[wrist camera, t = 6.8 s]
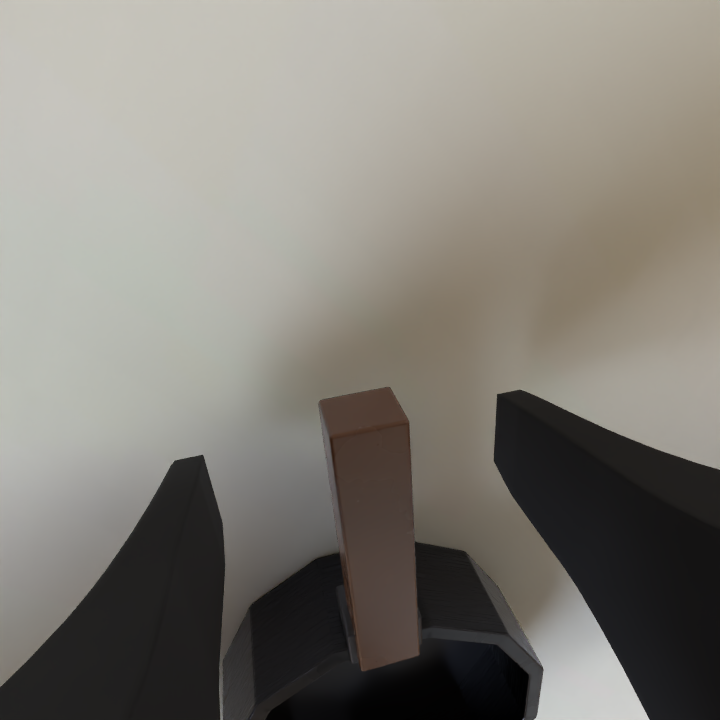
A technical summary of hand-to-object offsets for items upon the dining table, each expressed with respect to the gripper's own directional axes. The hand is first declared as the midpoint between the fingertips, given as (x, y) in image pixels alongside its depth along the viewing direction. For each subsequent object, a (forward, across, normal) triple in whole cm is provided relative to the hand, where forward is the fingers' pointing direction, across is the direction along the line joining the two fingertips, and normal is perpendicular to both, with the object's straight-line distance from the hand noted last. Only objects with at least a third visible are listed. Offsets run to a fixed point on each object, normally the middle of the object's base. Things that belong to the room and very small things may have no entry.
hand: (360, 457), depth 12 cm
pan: (+2, 0, +7) cm, 7 cm away
